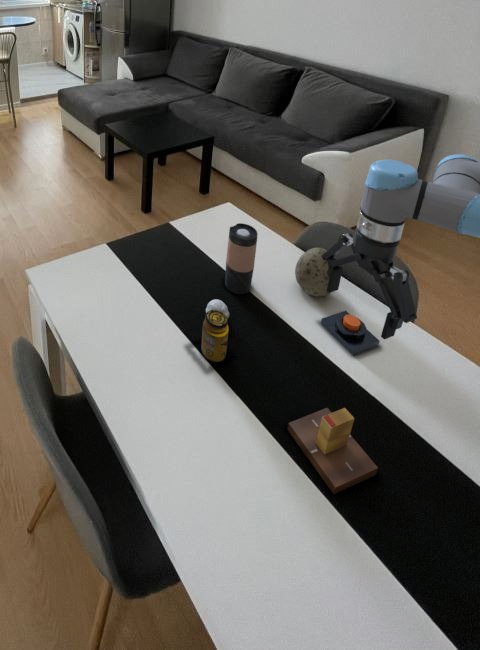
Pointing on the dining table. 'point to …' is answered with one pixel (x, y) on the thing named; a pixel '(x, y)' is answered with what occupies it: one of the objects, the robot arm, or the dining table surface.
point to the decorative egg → (313, 272)
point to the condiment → (215, 335)
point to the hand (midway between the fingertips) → (358, 311)
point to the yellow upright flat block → (334, 430)
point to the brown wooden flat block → (332, 455)
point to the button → (351, 322)
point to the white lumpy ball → (217, 307)
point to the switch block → (349, 334)
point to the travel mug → (240, 258)
